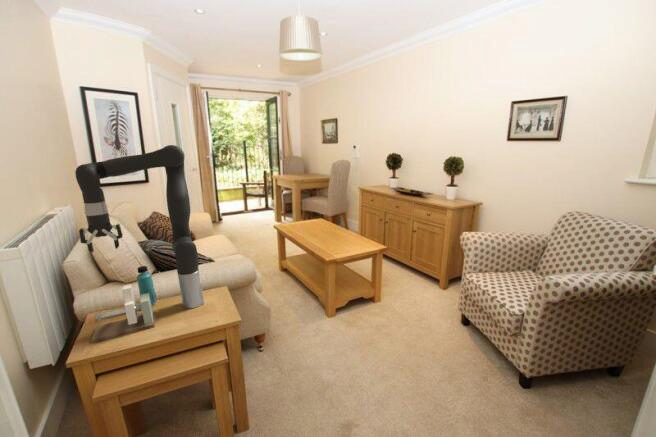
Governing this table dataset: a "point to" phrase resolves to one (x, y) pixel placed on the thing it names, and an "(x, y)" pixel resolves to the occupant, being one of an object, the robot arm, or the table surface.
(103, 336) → the pipe board
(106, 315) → the steel pipe
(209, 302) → the table surface
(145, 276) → the beverage bottle
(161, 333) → the table surface
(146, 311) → the mount block
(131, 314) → the white stepped block
